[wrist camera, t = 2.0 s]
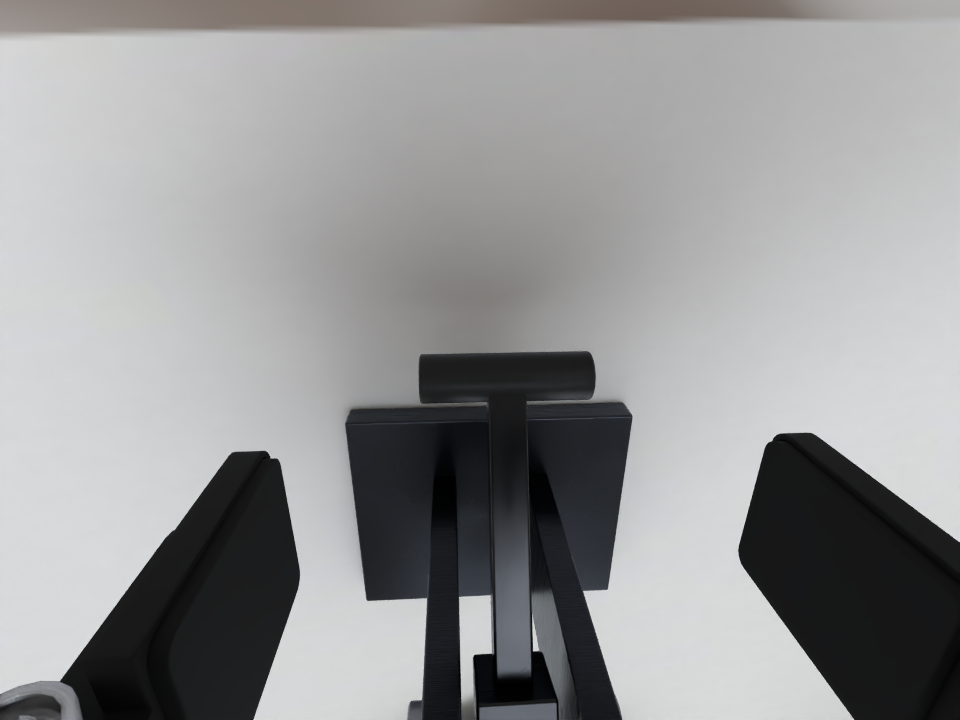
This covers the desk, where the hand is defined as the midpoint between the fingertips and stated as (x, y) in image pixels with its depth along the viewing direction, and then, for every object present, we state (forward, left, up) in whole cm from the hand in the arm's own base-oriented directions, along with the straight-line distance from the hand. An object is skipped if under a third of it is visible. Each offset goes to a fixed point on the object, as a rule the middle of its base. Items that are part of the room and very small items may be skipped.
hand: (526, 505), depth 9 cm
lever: (+5, 0, -4) cm, 7 cm away
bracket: (+9, 0, -11) cm, 14 cm away
